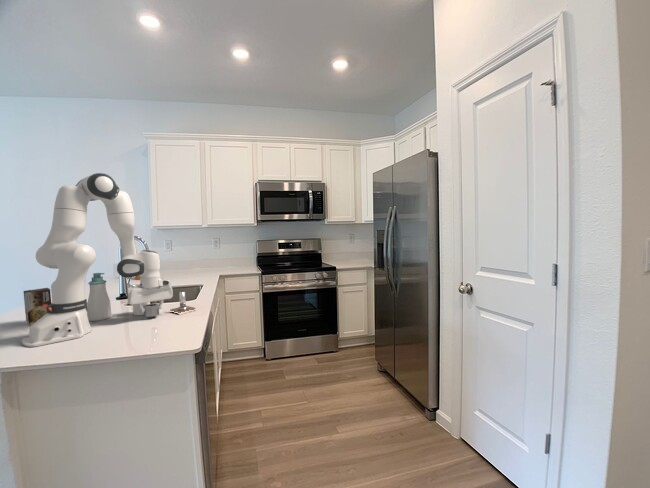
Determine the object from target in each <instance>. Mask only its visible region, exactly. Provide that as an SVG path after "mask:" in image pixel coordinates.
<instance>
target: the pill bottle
mask: <svg viewBox="0 0 650 488" xmlns="http://www.w3.org/2000/svg"><path fill="white" fill-rule="evenodd" d="M147 304H151V302H147V303H143V305H142V307H143V306H144V305H147ZM132 314H133V315H134V316H144V312H141V308H140V307H139V306H138V304H135V305H132Z"/></svg>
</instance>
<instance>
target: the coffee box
mask: <svg viewBox="0 0 650 488" xmlns="http://www.w3.org/2000/svg"><path fill="white" fill-rule="evenodd" d="M23 302H24V313H25V322H26V323H25V324H26V325H27V326H28V327H31V326H32V325H33V324H34V323H35V322H36V321H38V320H39V319H40V318H42V317H43V316H44V315H45V314H47V312H46V310H45V309H43V308H42V306H43V305H45V304H47V305H50V304H51V303H52V293H51V288H49V287H43V288H35V289H28V290H23Z"/></svg>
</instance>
